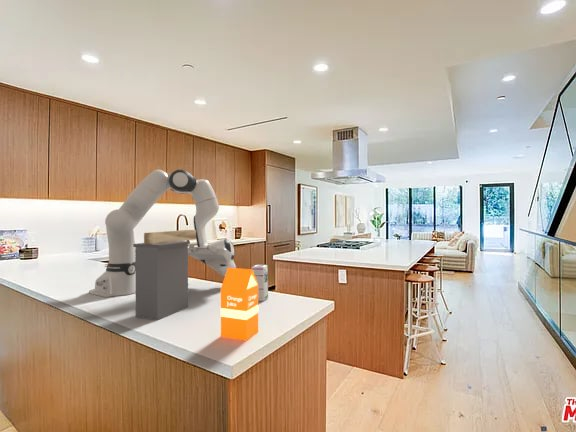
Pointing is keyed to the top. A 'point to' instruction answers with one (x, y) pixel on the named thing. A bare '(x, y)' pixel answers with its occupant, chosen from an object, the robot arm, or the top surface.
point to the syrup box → (261, 281)
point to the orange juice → (239, 304)
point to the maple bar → (169, 236)
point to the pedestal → (161, 279)
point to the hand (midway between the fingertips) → (199, 246)
